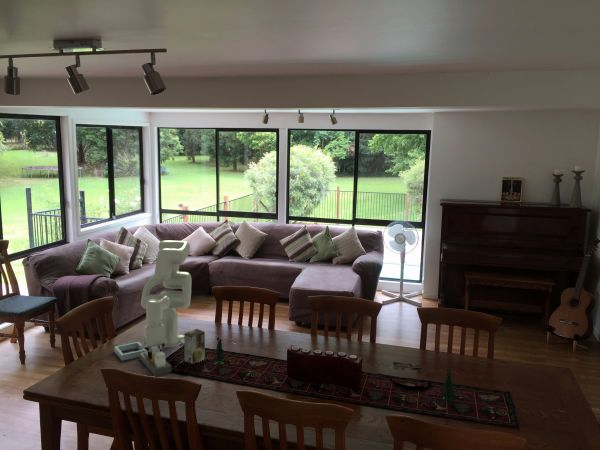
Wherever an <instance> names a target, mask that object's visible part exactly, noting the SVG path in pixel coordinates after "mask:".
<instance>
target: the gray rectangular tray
mask: <svg viewBox="0 0 600 450" xmlns="http://www.w3.org/2000/svg"><path fill="white" fill-rule="evenodd" d="M138 359H139V360H140V361H141V362H142V364H144V366H146V368H147V369H148V370H149V371H150V372H151V373H152V375H153V376H155V377H156V376H161V375H164V374H169V373H171V372H172V365H171V364H170V363H169V362H168V361H167V360H166V359H165V366H164V367H159V368H156V367H155V362H152V363H151V362H150V358H148V357H146V356H145V352H142V353H139V357H138Z"/></svg>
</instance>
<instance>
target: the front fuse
mask: <svg viewBox="0 0 600 450" xmlns="http://www.w3.org/2000/svg"><path fill="white" fill-rule="evenodd" d="M165 360H166V353H165V352H164V351H161V352H157V353H155V367H156V368H159V367H164V366H165Z"/></svg>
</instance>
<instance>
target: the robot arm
mask: <svg viewBox="0 0 600 450" xmlns="http://www.w3.org/2000/svg"><path fill="white" fill-rule="evenodd" d="M190 251H191V244H190V243H189V241H187V240H173V239H172V240H161V241H160V242H159V243H158V252H157V257H156V263H155V268H154V274H153V276H152V277H151V278H149V279H148V281H147V282H145V284H144V287H143V288H142V293H141V300H140V305H141V307H142V308H143V309H145V310H146V312H145V313H146V314H145V315H146V325H145V326H144V329H143V341H142V343H141V344H142V345H141V348H143V349H146V350H147V351H148V358H150V359H152V352H151V347H152V346H155V347H156V346H157V347H158V348H159V349H160V352H161V351H162V350H163V349H164V348H173V347H177V346H180V345H181V343H182V342H181V341H182V340H184V335H182V334H179V324H178V323H179V316H178V315H179V314H178V311H177V310H176V309H188V308H189V307H190V305H191V297H192V275H191V274H190V273H189V272H188V271H180V265H182V264H184V263H185V261H186V259H187V258H188V256H189V255H190ZM161 283H162V286H163V287H164V288H166V289H179V290H164V291H161V292H159V294H150V293H151V290H152V289H153V287H155V286H156V285H158V284H161ZM180 289H181V290H182V291H180ZM145 344H146V346H147V347H146V346H145Z"/></svg>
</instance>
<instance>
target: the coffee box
mask: <svg viewBox="0 0 600 450" xmlns="http://www.w3.org/2000/svg"><path fill="white" fill-rule="evenodd" d="M205 335H206V333H205V330H204V331H203V330H201V329H198V328H195V329H193V330H190V331H187V332H186V333H184V335H183V336H184V339H183V340H184V362H186V363H190V364H192V365H194V364H196V363H198V362H199V363H201V362H203V361H205V360H204V359H206V348H205V345H206V343H205V341H206V340H205V339H206V336H205ZM202 360H203V361H202ZM200 361H201V362H200Z"/></svg>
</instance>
